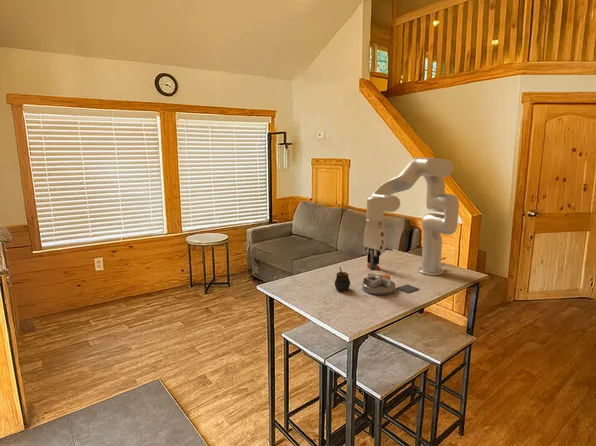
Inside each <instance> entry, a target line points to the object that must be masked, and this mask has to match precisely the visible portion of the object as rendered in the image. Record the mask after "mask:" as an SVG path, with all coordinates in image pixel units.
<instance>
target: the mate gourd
mask: <svg viewBox="0 0 596 446" xmlns="http://www.w3.org/2000/svg"><path fill="white" fill-rule="evenodd" d="M338 268H339V270H340V271H338V272H336V274H335V275H336V276H335V277H336V279H335V281H334V286H335V289H336V290H337V291H338V292H346V291H348V290H349V289H350V287H351V280H350V278H349V273H348V272H346V271H342V268H341V266H340V267H338Z"/></svg>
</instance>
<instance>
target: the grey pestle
mask: <svg viewBox="0 0 596 446" xmlns="http://www.w3.org/2000/svg"><path fill="white" fill-rule="evenodd" d="M374 256H375V255H374V249H371V248H370V268H369V270H370V271H377V270H376V265H373V257H374Z"/></svg>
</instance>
